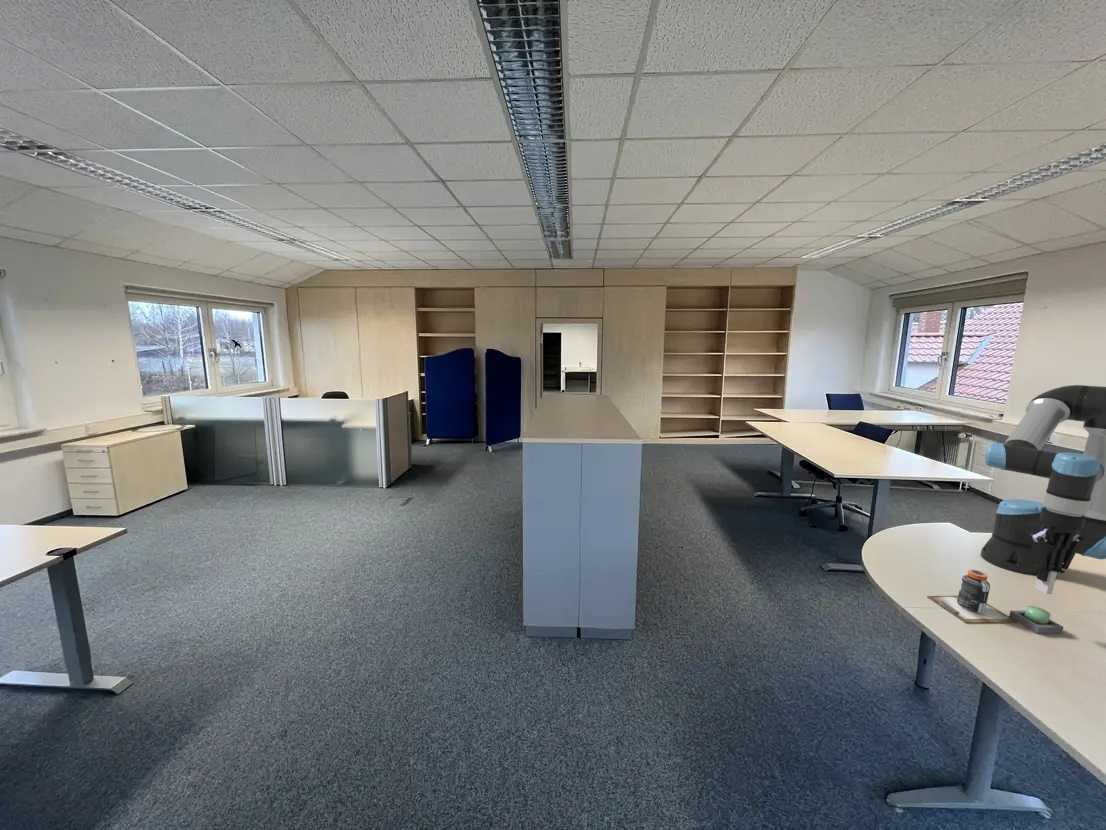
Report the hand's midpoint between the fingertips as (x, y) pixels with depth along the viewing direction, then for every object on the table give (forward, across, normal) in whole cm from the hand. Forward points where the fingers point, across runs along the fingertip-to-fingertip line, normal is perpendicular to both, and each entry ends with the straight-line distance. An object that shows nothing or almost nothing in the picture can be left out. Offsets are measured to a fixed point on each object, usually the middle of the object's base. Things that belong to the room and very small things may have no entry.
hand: (1043, 591), depth 115 cm
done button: (+9, 0, 0) cm, 9 cm away
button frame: (+11, 0, 0) cm, 11 cm away
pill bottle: (+10, +11, -7) cm, 17 cm away
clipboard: (+11, +11, -7) cm, 17 cm away
